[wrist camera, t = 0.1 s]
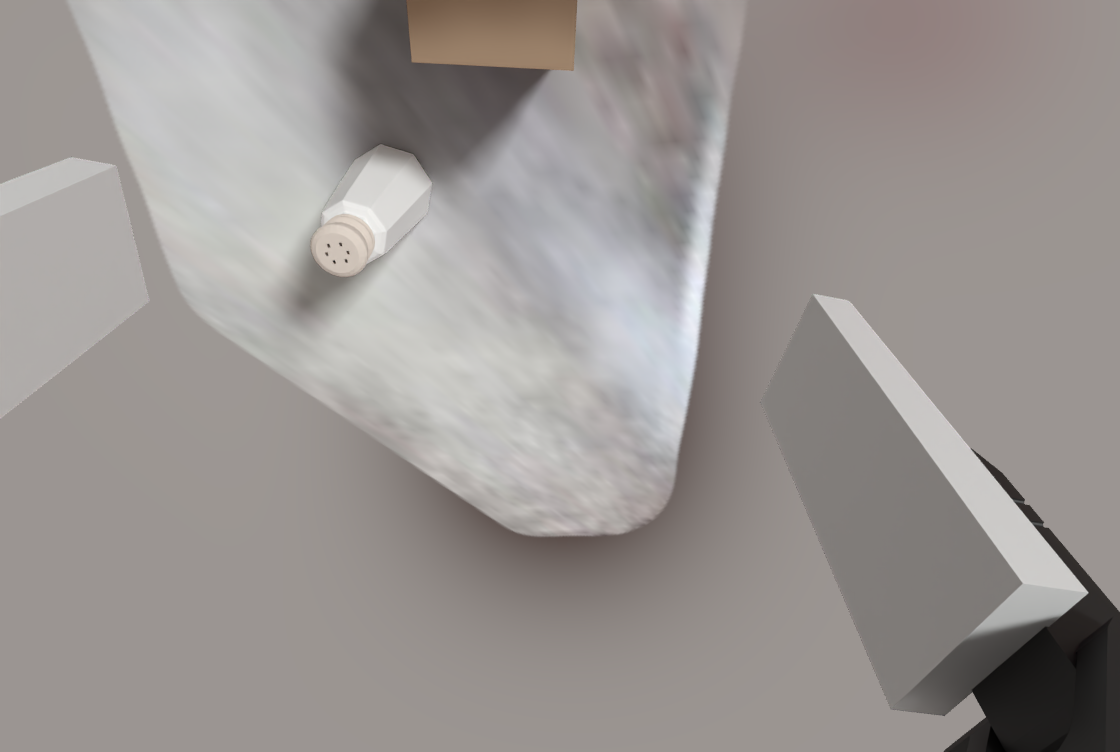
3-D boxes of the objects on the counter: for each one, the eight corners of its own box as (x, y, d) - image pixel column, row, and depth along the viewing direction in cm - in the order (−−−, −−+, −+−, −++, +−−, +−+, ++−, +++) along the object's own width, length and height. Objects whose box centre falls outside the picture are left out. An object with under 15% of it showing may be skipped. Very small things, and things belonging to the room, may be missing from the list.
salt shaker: (423, 139, 37) (375, 194, 27) (441, 223, 40) (404, 297, 31) (338, 147, 37) (264, 204, 28) (363, 230, 40) (303, 306, 31)
